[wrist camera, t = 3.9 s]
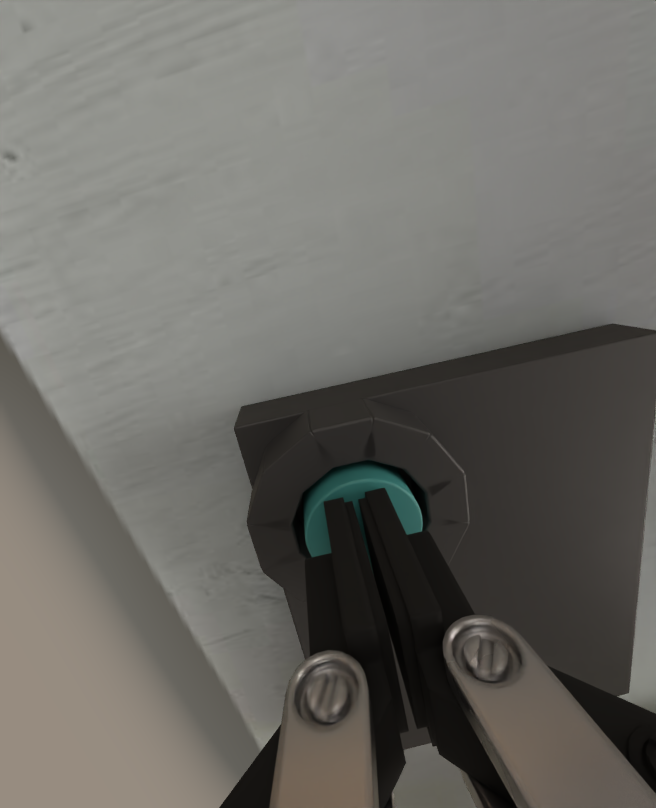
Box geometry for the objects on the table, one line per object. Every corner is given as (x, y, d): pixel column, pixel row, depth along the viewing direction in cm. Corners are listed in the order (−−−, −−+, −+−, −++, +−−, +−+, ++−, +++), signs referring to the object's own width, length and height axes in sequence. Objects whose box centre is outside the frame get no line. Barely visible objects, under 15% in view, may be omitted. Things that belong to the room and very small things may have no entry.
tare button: (291, 463, 11) (292, 495, 10) (397, 439, 11) (415, 467, 10) (314, 550, 12) (318, 592, 11) (411, 527, 12) (430, 566, 11)
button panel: (238, 405, 13) (221, 450, 10) (612, 321, 13) (721, 337, 10) (332, 718, 18) (342, 817, 15) (596, 653, 19) (663, 735, 15)
